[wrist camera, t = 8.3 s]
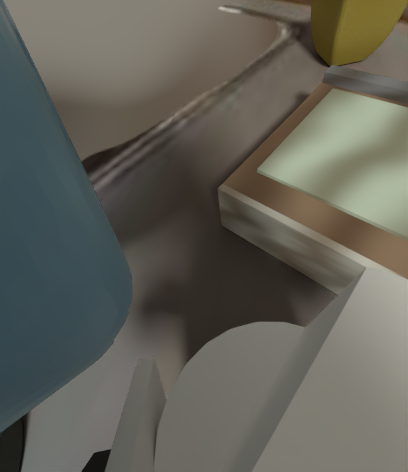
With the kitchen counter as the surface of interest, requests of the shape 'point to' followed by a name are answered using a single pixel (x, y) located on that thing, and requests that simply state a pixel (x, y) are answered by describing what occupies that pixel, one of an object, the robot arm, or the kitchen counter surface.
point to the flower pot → (352, 27)
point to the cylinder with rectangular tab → (298, 391)
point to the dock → (330, 182)
